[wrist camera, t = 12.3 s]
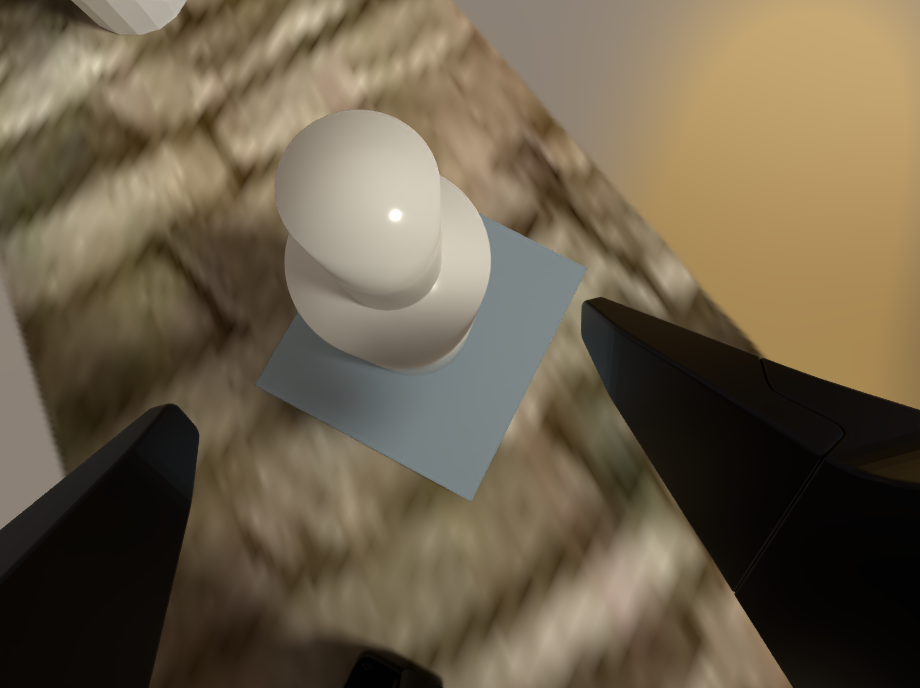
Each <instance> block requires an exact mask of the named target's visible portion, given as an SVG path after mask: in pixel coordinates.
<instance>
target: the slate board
mask: <svg viewBox="0 0 920 688" xmlns="http://www.w3.org/2000/svg"><path fill="white" fill-rule="evenodd" d="M479 215H480V217H481V219H482V221H483V224H484V226H485V229H486V232H487V236H488V240H489V244H490V253H491V269H490V275H489V282H488V285H487V288H486V292H485V295H484V297H483V300H482V302H481V305H480V307H479V310H478V312H477V315H476V317H475V320H474V322H473V325H472V328H471V330H470V333H469V335H468V338H467V340H466V342H465V345H464V347H463V349H462V350H461V352H460V353H459V355H458V356H457V357H456V358H455V359H454V360H453V361H452V362H451V363H450V364H449V365H447V366H446V367H445V368H443V369H441V370H439V371H437V372H434V373H432V374H428V375H423V376H407V375H402V374H398V373H395V372H393V371H390V370H388V369H385V368H383V367H380V366H378V365H375V364H373V363H371V362H368V361H366V360H363V359H361V358H358V357H356V356H353V355H351V354H349V353H346V352H344V351H342V350H340V349H338V348H336V347H334V346H333V345H331V344H329V343H328V342H326V341H325V340H323V339H322V338H321V337H320V336H319V335H317V334H316V333H315V332H314V331H313V330H312V329H311V328H310V327H309V325H308V324H307V323H306V322H305V321H304V319H303V318H302V316H301V315H300V314H299V312H297V314H296V316H295V317H294V319H293V321H292V322H291V324H290V326H289V328H288V329H287V331H286V333H285V334H284V336H283V338H282V339H281V341H280V343H279V345H278V346H277V348H276V350H275V351H274V353H273V355H272V356H271V358H270V360H269V362H268V363H267V365H266V367H265V368H264V370H263V372H262V373H261V375H260V377H259V379H258V380H257V382H256V384H255V385H256V386H257V387H259V388H261V389H263V390H265V391H267V392H269V393H270V394H272V395H274V396H276V397H278V398H280V399H282V400H283V401H285V402H287V403H289V404H291V405H293V406H295V407H296V408H298V409H300V410H302V411H304V412H306V413H308V414H309V415H311V416H313V417H315V418H317V419H319V420H321V421H322V422H324V423H326V424H328V425H330V426H332V427H334V428H335V429H337V430H339V431H341V432H343V433H345V434H347V435H348V436H350V437H352V438H354V439H356V440H358V441H360V442H362V443H363V444H365V445H367V446H369V447H371V448H373V449H375V450H376V451H378V452H380V453H382V454H384V455H386V456H388V457H389V458H391V459H393V460H395V461H397V462H399V463H401V464H402V465H404V466H406V467H408V468H410V469H412V470H414V471H415V472H417V473H419V474H421V475H423V476H425V477H427V478H428V479H430V480H432V481H434V482H436V483H438V484H440V485H441V486H443V487H445V488H447V489H449V490H451V491H453V492H454V493H456V494H458V495H460V496H462V497H464V498H466V499H467V500H469V501H472V499H473V497H474V495H475V493H476V491H477V489H478V487H479V485H480V483H481V481H482V479H483V477H484V475H485V473H486V471H487V469H488V467H489V465H490V463H491V461H492V459H493V457H494V455H495V453H496V451H497V449H498V447H499V445H500V443H501V441H502V439H503V437H504V435H505V433H506V431H507V429H508V427H509V425H510V423H511V421H512V419H513V417H514V415H515V413H516V411H517V408H518V406H519V404H520V402H521V400H522V398H523V396H524V394H525V392H526V390H527V388H528V386H529V384H530V382H531V380H532V378H533V376H534V374H535V372H536V370H537V368H538V366H539V364H540V362H541V360H542V358H543V356H544V354H545V352H546V350H547V348H548V346H549V344H550V342H551V340H552V338H553V336H554V334H555V332H556V330H557V328H558V326H559V324H560V322H561V320H562V318H563V316H564V314H565V312H566V310H567V308H568V306H569V304H570V302H571V300H572V298H573V296H574V294H575V292H576V290H577V288H578V286H579V284H580V282H581V280H582V278H583V276H584V274H585V272H586V270H587V268H586V267H584V266H582V265H580V264H578V263H576V262H574V261H572V260H570V259H568V258H566V257H564V256H562V255H560V254H558V253H556V252H554V251H552V250H550V249H548V248H546V247H544V246H542V245H540V244H538V243H537V242H535V241H533V240H531V239H529V238H527V237H525V236H523V235H521V234H519V233H517V232H515V231H513V230H511V229H509V228H507V227H505V226H503V225H501V224H499V223H497V222H495V221H493V220H491V219H489V218H487V217H485V216H483V215H481V214H479Z"/></svg>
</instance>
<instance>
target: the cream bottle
mask: <svg viewBox="0 0 920 688" xmlns="http://www.w3.org/2000/svg"><path fill="white" fill-rule="evenodd" d="M275 199H276V204H277V209H278V211H279V214H280V217H281V219H282V221H283V223H284V225H285V227H286V228H287V230H288V231H289V234H288V238H287V243H286V247H285V258H284V264H285V276H286V281H287V287H288V290H289V292H290V295H291V298H292V301H293V303H294V305H295V307H296V309H297V310H298V312H299V314H300V315H301V316H302V318H303V319H304V321H305V322H306V323H307V324H308V325H309V327H310V328H311V329H312V330H313V331H314V332H315V333H316V334H317V335H319V336H320V337H321V338H322V339H323V340H325V341H326V342H328V343H329V344H331V345H333V346H334V347H336V348H338V349H340V350H342V351H344V352H346V353H349V354H351V355H353V356H356V357H358V358H361V359H363V360H366V361H368V362H371V363H373V364H375V365H378V366H380V367H383V368H385V369H388V370H390V371H393V372H395V373H398V374H402V375H407V376H423V375H428V374H432V373H434V372H437V371H439V370H441V369H443V368H445V367H446V366H447V365H449V364H450V363H451V362H452V361H453V360H454V359H455V358H456V357H457V356H458V355H459V353H460V352H461V350H462V349H463V347H464V345H465V342H466V340H467V338H468V335H469V333H470V330H471V328H472V325H473V322H474V320H475V317H476V315H477V312H478V310H479V307H480V305H481V302H482V300H483V297H484V295H485V292H486V288H487V285H488V282H489V275H490V269H491V253H490V244H489V240H488V236H487V232H486V229H485V226H484V224H483V221H482V219H481V217H480V215H479V213H478V212H477V210H476V208H475V207H474V205H473V204H472V203H471V201H470V200H469V199H468V197H467V196H466V195H465V194H464V193H463V192H462V191H461V190H460V189H459V188H458V187H456V186H455V185H454V184H453V183H451V182H450V181H449V180H447V179H446V178H444V177H442V176H441V175H439V172H438V167H437V164H436V161H435V159H434V156H433V154H432V152H431V151H430V149H429V147H428V145H427V144H426V143H425V141H424V140H423V139H422V138H421V137H420V136H419V135H418V134H417V133H416V132H415V131H414V130H413V129H412V128H411V127H409V126H408V125H407V124H405V123H403V122H402V121H400V120H398V119H396V118H394V117H392V116H389V115H387V114H383V113H380V112H375V111H370V110H347V111H341V112H336V113H333V114H330V115H327V116H325V117H322V118H320V119H318V120H316V121H315V122H313V123H311V124H310V125H308V126H307V127H306V128H304V129H303V130H302V131H301V132H299V134H298V135H297V136H296V137H295V138H294V139H293V140H292V141H291V143H290V144H289V145H288V147H287V148H286V150H285V152H284V153H283V155H282V157H281V160H280V162H279V165H278V168H277V172H276V177H275Z"/></svg>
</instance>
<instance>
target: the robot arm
mask: <svg viewBox="0 0 920 688" xmlns="http://www.w3.org/2000/svg"><path fill="white" fill-rule="evenodd" d="M581 335H582V339H583V341H584V344H585V346H586V348H587V350H588V352H589V354H590V356H591V358H592V361H593V363H594V365H595V367H596V369H597V371H598V373H599V375H600V377H601V380H602V382H603V384H604V386H605V388H606V390H607V392H608V394H609V396H610V397H611V399H612V401H613V403H614V404H615V406H616V407H617V409H618V411H619V412H620V414H621V415H622V417H623V418H624V420H625V422H626V423H627V425H628V426H629V428H630V430H631V431H632V433H633V434H634V436H635V437H636V439H637V441H638V442H639V444H640V445H641V447H642V449H643V450H644V452H645V453H646V455H647V456H648V458H649V460H650V461H651V463H652V464H653V466H654V468H655V469H656V471H657V472H658V474H659V476H660V477H661V479H662V480H663V482H664V483H665V485H666V487H667V488H668V490H669V491H670V493H671V495H672V496H673V498H674V499H675V501H676V502H677V504H678V506H679V507H680V509H681V510H682V512H683V514H684V515H685V517H686V518H687V520H688V521H689V523H690V525H691V526H692V528H693V529H694V531H695V533H696V534H697V536H698V537H699V539H700V541H701V542H702V544H703V545H704V547H705V548H706V550H707V552H708V553H709V555H710V556H711V558H712V560H713V561H714V563H715V564H716V566H717V567H718V569H719V571H720V572H721V574H722V575H723V577H724V579H725V580H726V582H727V583H728V585H729V586H730V588H731V590H732V591H733V592H735V593H734V595H735V596H736V598H737V600H738V601H739V603H740V604H741V606H742V608H743V609H744V611H745V612H746V614H747V616H748V617H749V619H750V620H751V622H752V623H753V625H754V627H755V628H756V630H757V631H758V633H759V635H760V636H761V638H762V639H763V641H764V642H765V644H766V646H767V647H768V649H769V650H770V652H771V654H772V655H773V657H774V658H775V660H776V662H777V663H778V665H779V666H780V668H781V669H782V671H783V673H784V674H785V676H786V677H787V679H788V681H789V682H790V684H791V685H792V687H793V688H920V410H919V409H915V408H912V407H909V406H906V405H902V404H899V403H896V402H893V401H890V400H886V399H883V398H880V397H877V396H873V395H870V394H867V393H864V392H861V391H857V390H854V389H851V388H848V387H845V386H842V385H839V384H836V383H833V382H829V381H827V380H823V379H820V378H817V377H815V376H812V375H809V374H806V373H803V372H801V371H798V370H795V369H792V368H789V367H787V366H784V365H781V364H779V363H776V362H773V361H771V360H768V359H765V358H761V359H760V358H759V356H757V355H754V354H752V353H749V352H747V351H744V350H741V349H739V348H736V347H733V346H731V345H728V344H725V343H723V342H720V341H717V340H715V339H712V338H709V337H707V336H704V335H701V334H699V333H696V332H693V331H691V330H688V329H685V328H683V327H680V326H678V325H675V324H672V323H670V322H667V321H664V320H662V319H659V318H656V317H654V316H651V315H648V314H646V313H643V312H640V311H638V310H635V309H632V308H630V307H627V306H624V305H622V304H619V303H616V302H614V301H611V300H609V299H606V298H603V297H598V298H594V299H590V300H586V301H584V302H583V304H582V312H581ZM198 445H199V432H198V429H197V427H196V426H195V425H194V424H193V423H192V421H191V420H190V419H189V418H188V417H187V416H186V415H185V414H184V412H183V411H182V410H181V409H180V408H179V407H178V406H177V405H175V404H165V405H161V406H157V407H153V408H151V409H149V410H148V411H147V412H145V413H144V414H143V415H142V416H140V417H139V418H138V419H137V420H136V421H134V422H133V423H132V424H131V425H129V426H128V427H127V428H126V429H124V430H123V431H122V432H121V433H119V434H118V435H117V436H116V437H115V438H113V439H112V440H111V441H110V442H108V443H107V444H106V445H105V446H103V447H102V448H101V449H100V450H98V451H97V452H96V453H95V454H94V455H92V456H91V457H90V458H89V459H87V460H86V461H85V462H84V463H82V464H81V465H80V466H79V467H77V468H76V469H75V470H74V471H73V472H71V473H70V474H69V475H68V476H66V477H65V478H64V479H63V480H61V481H60V482H59V483H58V484H57V485H55V486H54V487H53V488H52V489H50V490H49V491H48V492H47V493H45V494H44V495H43V496H42V497H40V498H39V499H38V500H37V501H35V502H34V503H33V504H32V505H31V506H29V507H28V508H27V509H26V510H24V511H23V512H22V513H21V514H19V515H18V516H17V517H16V518H14V519H13V520H12V521H11V522H10V523H8V524H7V525H6V526H5V527H3V528H2V529H1V530H0V688H149V685H150V680H151V676H152V672H153V667H154V663H155V659H156V655H157V650H158V646H159V642H160V637H161V633H162V629H163V624H164V620H165V616H166V612H167V607H168V603H169V599H170V594H171V590H172V586H173V581H174V577H175V573H176V569H177V564H178V560H179V556H180V551H181V547H182V543H183V538H184V534H185V530H186V526H187V521H188V517H189V512H190V508H191V503H192V496H193V488H194V480H195V471H196V462H197V454H198ZM364 663H369V664H370V665H371V666H372V668H371V669H369V670H366V669H364V668H363V664H364ZM343 688H443V687H441V686H439V685H437V684H436V683H434V682H432V681H430V680H428V679H427V678H425V677H423V676H421V675H420V674H418V673H416V672H414V671H412V670H411V669H408V670H404V669H403V668H401V667H399V666H397V665H395V664H394V663H392V662H390V661H388V660H387V659H385V658H383V657H381V656H379V655H378V654H376V653H374V652H371V651H365V652H363V653H362V654H360V656H359V657H358V659H357V661H356V663H355V665H354V667H353V669H352V671H351V672H350V674H349V676H348V678H347V680H346V682H345V684H344V686H343Z"/></svg>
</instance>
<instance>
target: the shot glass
mask: <svg viewBox="0 0 920 688" xmlns="http://www.w3.org/2000/svg"><path fill="white" fill-rule="evenodd" d="M71 1H73V2H74V3H75V4H76V5H77V6H78V7H79V8H80V9H81V10H82V11H84V12H85V13H86V14H87V15H88V16H89V17H90V18H91V19H92V20H93V21H95V22H96V23H97V24H98V25H99V26H100V27H103V28H105V29H107V30H109V31H112V32H114V33H116V34H121V35H142V34H146V33H149V32H152V31H156V30H159V29H161V28H162V27H163V26H165V25H166V24H167V23H169V22H170V21H172V20H173V19H174V18H176V17H177V15H178V13H179V12H180V10H181V9H182V7H183V5H184V4H185V2H186V1H187V0H71Z"/></svg>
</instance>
